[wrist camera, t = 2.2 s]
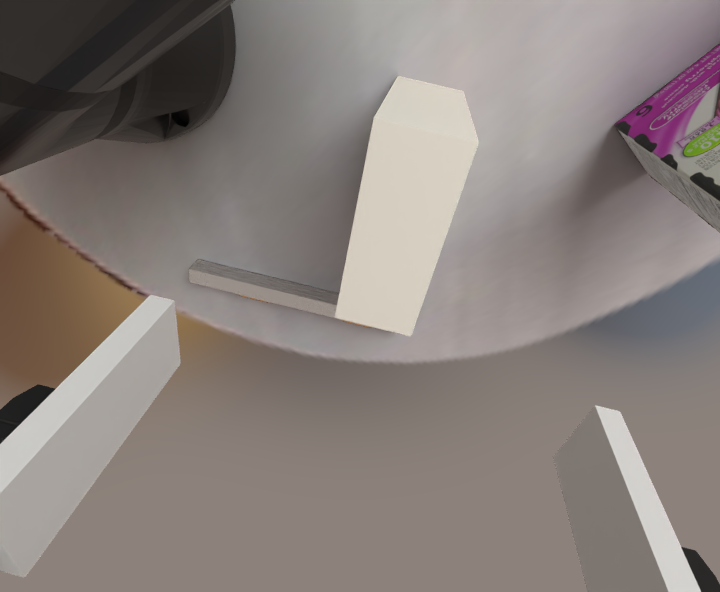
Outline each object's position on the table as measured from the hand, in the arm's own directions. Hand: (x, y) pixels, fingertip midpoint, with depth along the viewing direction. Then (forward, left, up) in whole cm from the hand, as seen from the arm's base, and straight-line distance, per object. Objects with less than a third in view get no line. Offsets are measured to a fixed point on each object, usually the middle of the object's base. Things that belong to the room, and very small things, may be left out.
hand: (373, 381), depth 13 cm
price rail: (-7, -14, -22) cm, 27 cm away
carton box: (0, 0, -22) cm, 22 cm away
